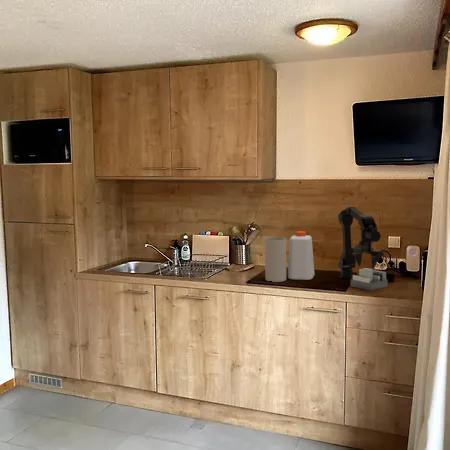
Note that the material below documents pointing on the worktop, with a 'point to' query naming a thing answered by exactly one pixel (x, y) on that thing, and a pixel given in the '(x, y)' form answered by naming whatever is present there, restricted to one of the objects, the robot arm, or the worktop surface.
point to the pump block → (366, 273)
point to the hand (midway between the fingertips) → (366, 267)
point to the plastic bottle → (301, 257)
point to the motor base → (365, 283)
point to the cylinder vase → (275, 259)
